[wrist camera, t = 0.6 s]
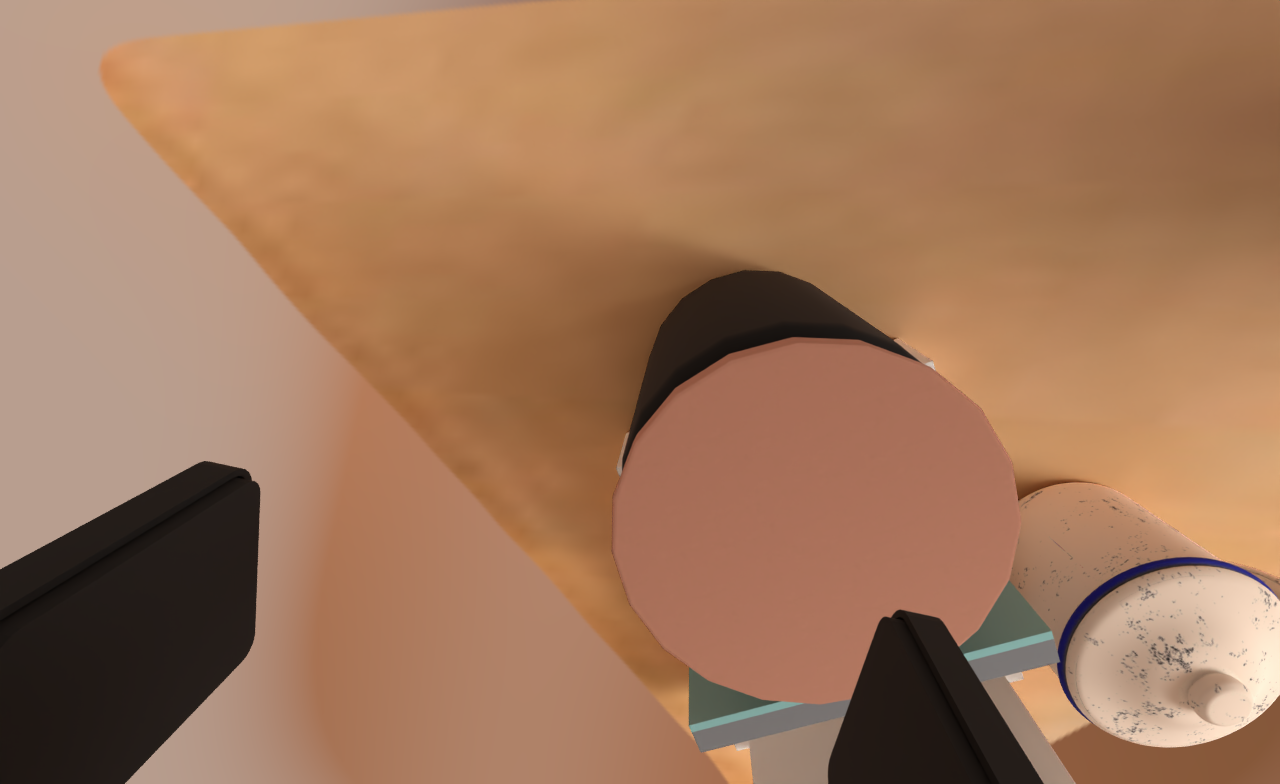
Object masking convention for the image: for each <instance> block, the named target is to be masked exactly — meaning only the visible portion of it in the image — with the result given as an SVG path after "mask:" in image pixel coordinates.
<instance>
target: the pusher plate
mask: <svg viewBox="0 0 1280 784" xmlns="http://www.w3.org/2000/svg"><path fill="white" fill-rule="evenodd" d="M959 648H960V650H961V651H962V653H963V654H964V656H965V658H966V659H967V661H968V662H969V664H970V666H971V667H972V669H973V670H974V672H975V674H976V675H977V677H978V679H979V680H980V682H983V681H987V680H991V679H995V678H999V677H1003V676H1007V675H1011V674H1015V673H1019V672H1023V671H1027V670H1030V669H1034V668H1038V667H1042V666H1046V665H1050V664H1054V663H1058V662H1060V660H1059V656H1058V652H1057V648H1056V645H1055V641H1054V637H1053V633H1052V631H1051V629H1050V628H1049V627H1048V626H1047V625H1046V623H1045V622H1044V621H1043V620H1042V619H1041V617H1040V616H1039V615H1038V614H1037V613H1036V611H1035V610H1034V609H1033V608H1032V607H1031V606H1030V604H1029V603H1028V602H1027V601H1026V600H1025V598H1024V597H1023V596H1022V595H1021V594H1020V592H1019V591H1018V590H1017V589H1016V588H1015V586H1014V585H1013V584H1012V583H1011V582H1010V580H1009V581H1008V583H1007V584H1006V586H1005V587H1004V589H1003V591H1002V592H1001V594H1000V596H999V597H998V599H997V600H996V602H995V604H994V605H993V607H992V609H991V610H990V612H989V614H988V615H987V617H986V618H985V620H984V622H983V623H982V625H981V627H980V628H979V630H978V631H976V632H975V633H974V634H973V635H972V636H971V637H970V638H968V639H967V640H966V641H965V642H964V643H963V644H962V645H960V646H959ZM850 700H851V699H849V700H843V701H838V702H832V703H826V704H809V703H796V702H783V701H770V700H761V699H759V698H756V697H753V696H750V695H747V694H744V693H742V692H739V691H736V690H733V689H730V688H727V687H725V686H722V685H719V684H716V683H713V682H710V681H708V680H707V679H705V678H704V677H702V676H701V675H700V674H698V673H697V672H695V671H694V670H693V669H691V668H690V667H689V727H690V729H691V732H692V734H693V736H694V738H695V741H696V743H697V745H698V747H699V750H700V752H706V751H710V750H714V749H717V748H721V747H725V746H729V745H733V744H737V743H741V742H745V741H749V740H753V739H757V738H761V737H765V736H769V735H773V734H777V733H781V732H785V731H789V730H793V729H797V728H801V727H805V726H809V725H813V724H817V723H821V722H824V721H828V720H832V719H836V718H840V717H844V716H845V714H846V711H847V709H848V706H849V703H850Z"/></svg>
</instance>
